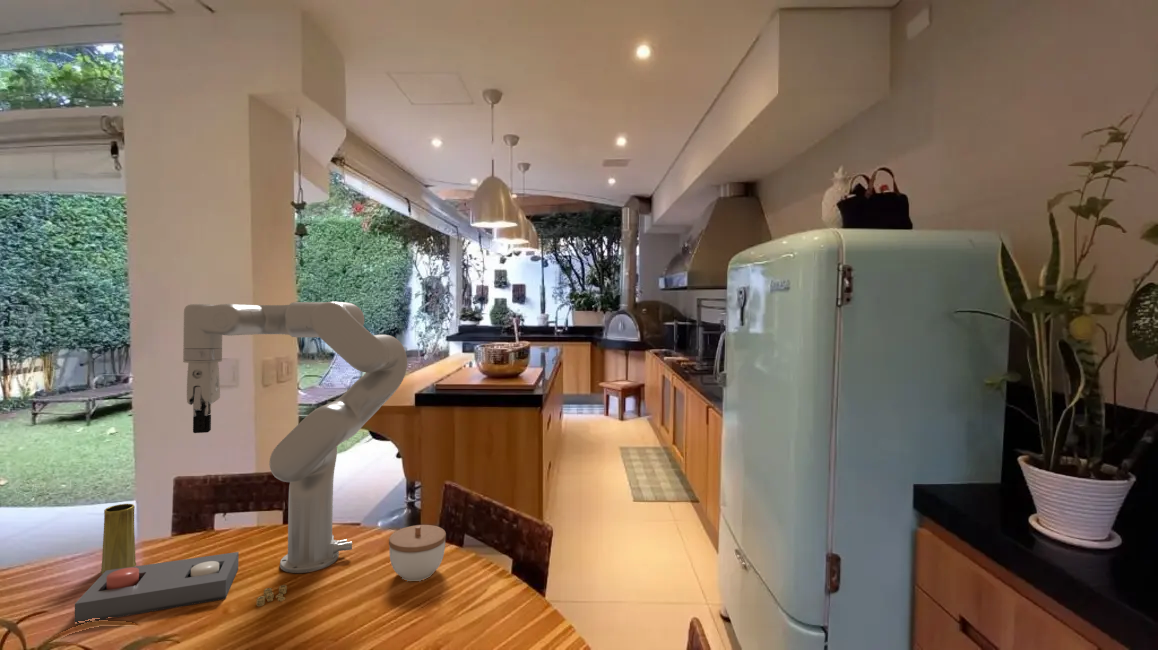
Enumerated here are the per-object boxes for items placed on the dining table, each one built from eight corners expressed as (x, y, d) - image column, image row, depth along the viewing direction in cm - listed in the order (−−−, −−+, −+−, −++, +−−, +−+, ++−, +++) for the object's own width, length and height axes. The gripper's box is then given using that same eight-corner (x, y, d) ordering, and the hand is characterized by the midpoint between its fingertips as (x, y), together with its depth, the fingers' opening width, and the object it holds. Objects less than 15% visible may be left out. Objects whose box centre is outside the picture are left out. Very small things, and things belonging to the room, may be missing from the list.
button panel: (238, 568, 120) (238, 551, 120) (225, 598, 108) (225, 579, 108) (105, 589, 110) (106, 570, 110) (74, 624, 98) (74, 603, 98)
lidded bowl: (375, 581, 116) (376, 532, 116) (413, 557, 128) (414, 513, 128) (421, 593, 111) (422, 542, 111) (456, 567, 123) (456, 521, 123)
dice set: (255, 609, 105) (255, 600, 105) (261, 597, 110) (261, 588, 110) (284, 605, 107) (284, 596, 107) (288, 593, 112) (288, 584, 111)
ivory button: (221, 573, 115) (221, 559, 115) (216, 584, 111) (216, 569, 111) (194, 578, 113) (194, 563, 113) (187, 589, 109) (187, 573, 108)
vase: (114, 577, 115) (115, 513, 115) (93, 573, 117) (94, 511, 117) (142, 564, 121) (143, 504, 121) (122, 561, 123) (122, 501, 123)
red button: (142, 580, 109) (142, 565, 109) (133, 592, 105) (133, 576, 105) (112, 585, 107) (112, 570, 107) (101, 597, 103) (102, 581, 103)
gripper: (214, 357, 118) (213, 437, 118) (228, 353, 132) (227, 425, 132) (174, 358, 115) (173, 440, 115) (192, 353, 129) (191, 427, 129)
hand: (201, 431), depth 123 cm, fingers closed
